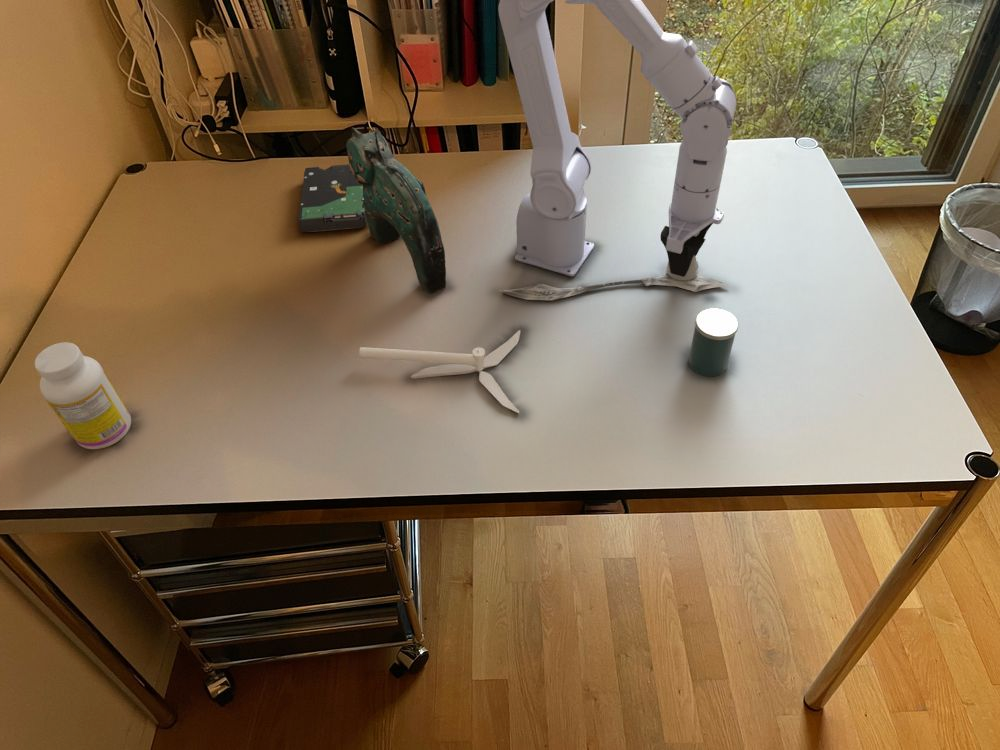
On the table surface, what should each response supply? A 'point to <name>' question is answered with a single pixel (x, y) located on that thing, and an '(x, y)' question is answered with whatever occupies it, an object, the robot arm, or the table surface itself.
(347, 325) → the table surface
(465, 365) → the wind turbine
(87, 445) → the supplement bottle
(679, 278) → the rook chess piece
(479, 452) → the table surface
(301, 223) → the disk drive
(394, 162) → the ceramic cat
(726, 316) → the tin can
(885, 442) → the table surface
